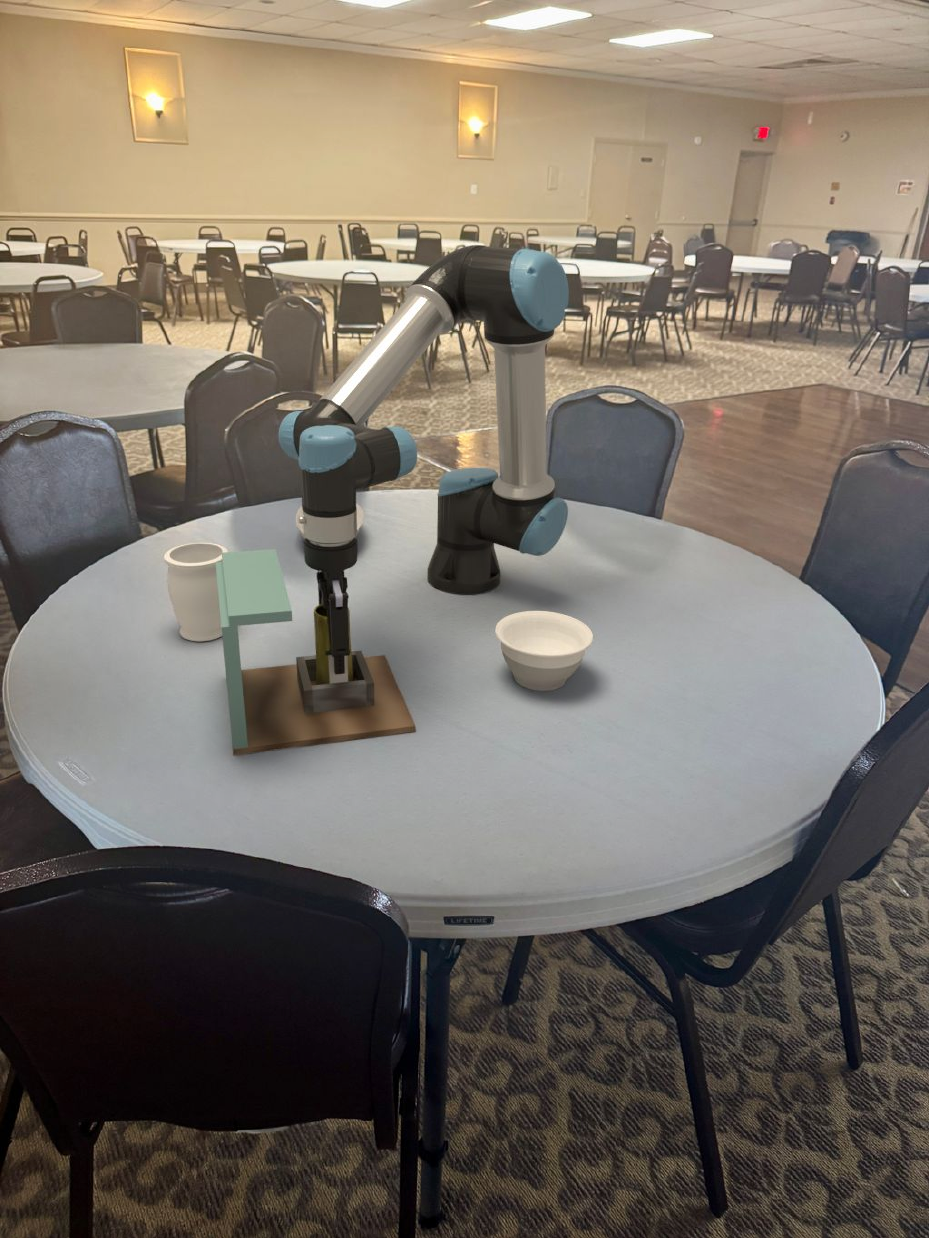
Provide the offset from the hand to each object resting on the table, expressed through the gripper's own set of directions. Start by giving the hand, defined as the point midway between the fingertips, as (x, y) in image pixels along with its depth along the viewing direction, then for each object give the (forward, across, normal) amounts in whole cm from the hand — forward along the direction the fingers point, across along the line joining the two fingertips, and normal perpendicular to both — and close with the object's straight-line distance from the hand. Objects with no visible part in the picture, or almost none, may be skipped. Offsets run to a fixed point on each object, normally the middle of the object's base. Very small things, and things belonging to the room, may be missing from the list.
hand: (335, 676), depth 130 cm
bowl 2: (+4, +1, +34) cm, 34 cm away
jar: (+4, -27, -19) cm, 33 cm away
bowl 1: (+4, -66, +9) cm, 67 cm away
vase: (+3, 0, 0) cm, 3 cm away
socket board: (+4, +1, -3) cm, 5 cm away
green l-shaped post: (+3, +1, -12) cm, 12 cm away
